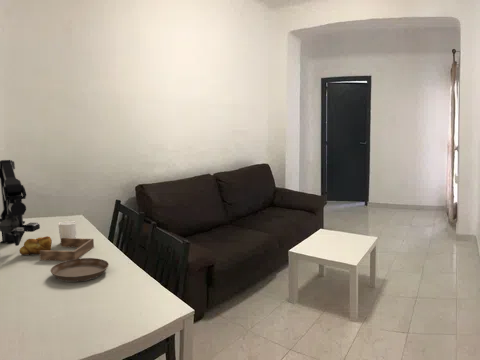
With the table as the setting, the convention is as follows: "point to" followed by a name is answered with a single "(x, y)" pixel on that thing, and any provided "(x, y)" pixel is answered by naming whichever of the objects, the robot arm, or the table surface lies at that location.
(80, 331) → the table surface
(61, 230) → the white cup
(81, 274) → the plant saucer
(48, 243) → the bread roll
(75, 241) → the box
